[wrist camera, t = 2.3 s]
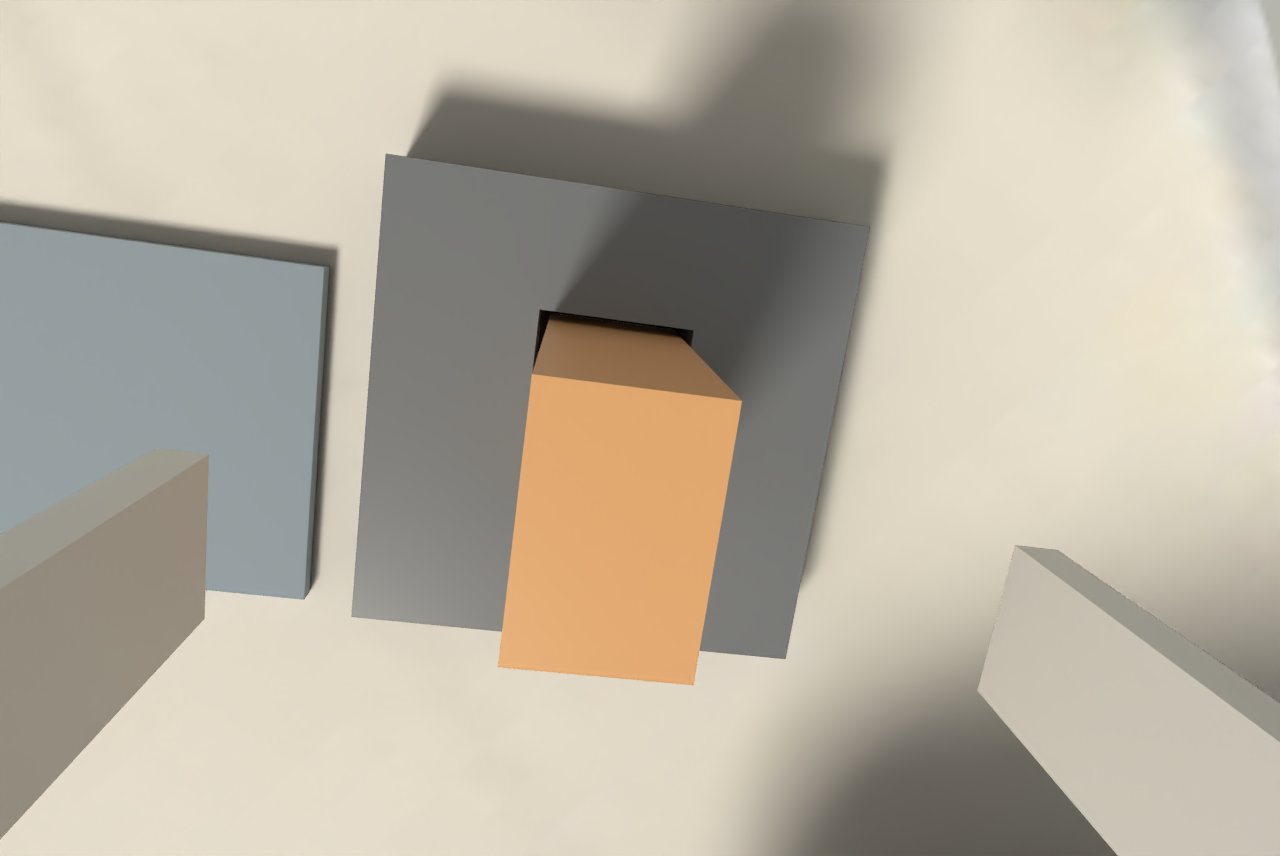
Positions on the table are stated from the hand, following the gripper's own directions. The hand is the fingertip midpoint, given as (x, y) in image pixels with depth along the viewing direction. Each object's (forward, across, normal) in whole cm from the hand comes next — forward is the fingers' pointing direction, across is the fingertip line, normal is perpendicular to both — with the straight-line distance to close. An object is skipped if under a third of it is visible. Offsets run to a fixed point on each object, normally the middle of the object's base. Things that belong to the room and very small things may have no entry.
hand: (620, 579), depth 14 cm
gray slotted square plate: (+15, 0, 0) cm, 15 cm away
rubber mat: (+15, +14, +2) cm, 21 cm away
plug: (+15, 0, 0) cm, 15 cm away
